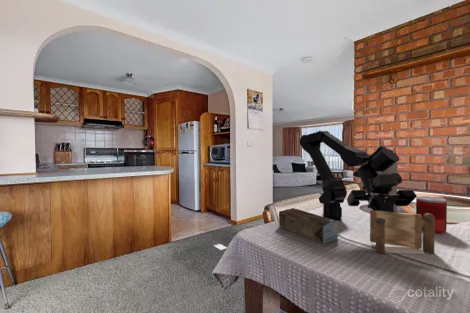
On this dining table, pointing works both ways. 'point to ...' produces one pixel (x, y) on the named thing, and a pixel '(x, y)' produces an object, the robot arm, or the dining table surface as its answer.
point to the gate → (398, 228)
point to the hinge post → (428, 233)
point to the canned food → (433, 211)
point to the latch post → (380, 235)
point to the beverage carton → (309, 225)
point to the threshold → (403, 250)
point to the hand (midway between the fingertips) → (392, 222)
